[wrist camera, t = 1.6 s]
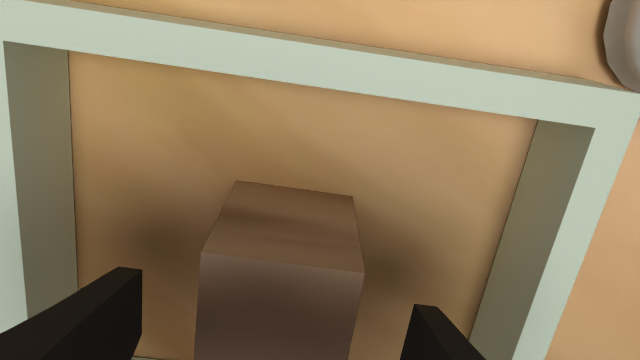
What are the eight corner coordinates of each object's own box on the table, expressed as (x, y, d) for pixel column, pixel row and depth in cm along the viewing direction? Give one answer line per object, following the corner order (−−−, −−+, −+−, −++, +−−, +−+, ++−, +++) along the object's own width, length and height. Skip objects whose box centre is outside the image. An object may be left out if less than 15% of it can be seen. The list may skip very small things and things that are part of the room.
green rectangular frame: (469, 415, 19) (494, 484, 16) (55, 367, 18) (8, 432, 16) (583, 78, 14) (647, 95, 12) (31, -6, 14) (-46, -11, 11)
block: (334, 293, 17) (339, 399, 13) (227, 280, 17) (192, 381, 12) (352, 195, 16) (365, 273, 11) (236, 180, 16) (200, 251, 11)
